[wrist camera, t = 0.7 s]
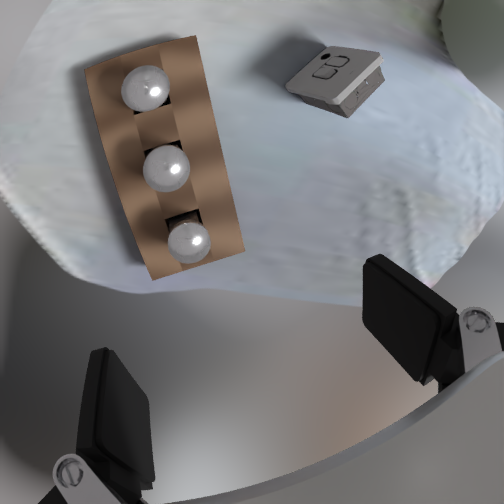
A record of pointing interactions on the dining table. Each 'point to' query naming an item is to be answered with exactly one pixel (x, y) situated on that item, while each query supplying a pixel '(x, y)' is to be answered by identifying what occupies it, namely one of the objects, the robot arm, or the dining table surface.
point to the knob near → (145, 88)
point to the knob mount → (158, 133)
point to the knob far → (188, 239)
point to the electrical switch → (338, 79)
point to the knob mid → (166, 168)
